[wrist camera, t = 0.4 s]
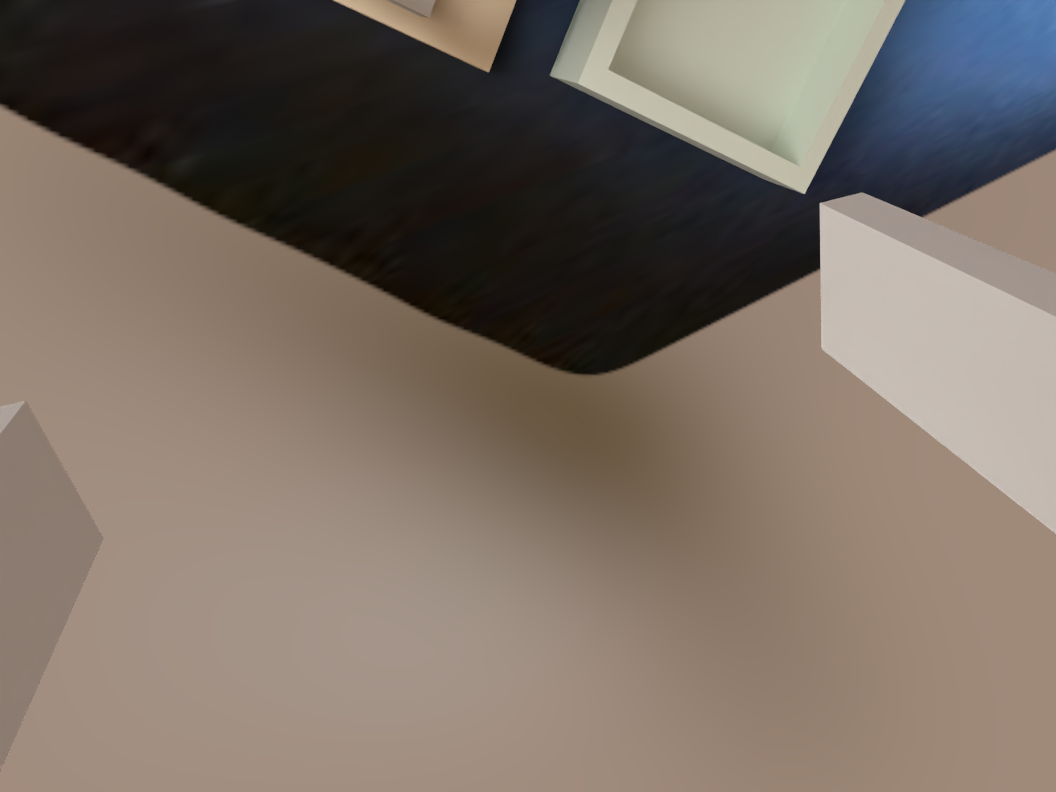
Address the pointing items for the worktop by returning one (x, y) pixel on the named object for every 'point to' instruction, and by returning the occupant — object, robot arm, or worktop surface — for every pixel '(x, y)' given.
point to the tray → (731, 72)
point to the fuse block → (445, 24)
